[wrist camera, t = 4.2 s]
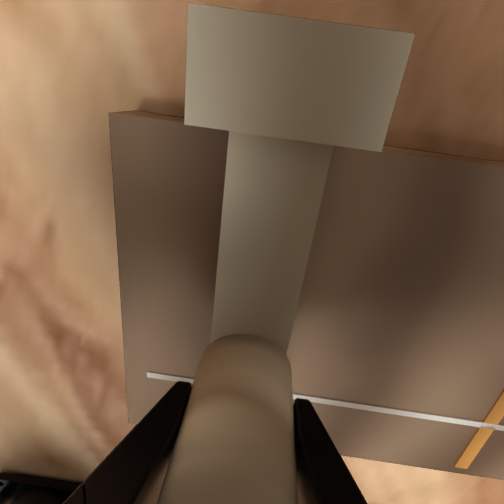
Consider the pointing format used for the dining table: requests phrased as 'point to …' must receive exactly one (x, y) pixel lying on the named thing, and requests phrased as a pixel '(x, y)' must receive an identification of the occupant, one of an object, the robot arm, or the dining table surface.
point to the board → (331, 290)
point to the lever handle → (268, 226)
